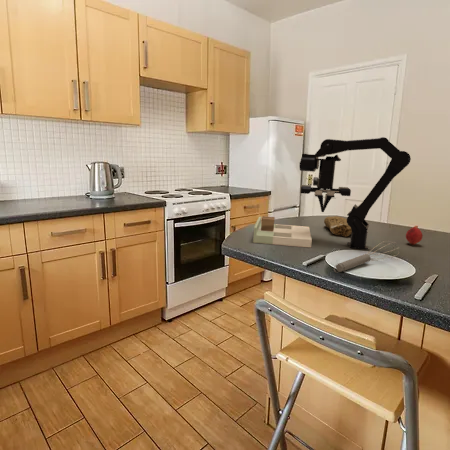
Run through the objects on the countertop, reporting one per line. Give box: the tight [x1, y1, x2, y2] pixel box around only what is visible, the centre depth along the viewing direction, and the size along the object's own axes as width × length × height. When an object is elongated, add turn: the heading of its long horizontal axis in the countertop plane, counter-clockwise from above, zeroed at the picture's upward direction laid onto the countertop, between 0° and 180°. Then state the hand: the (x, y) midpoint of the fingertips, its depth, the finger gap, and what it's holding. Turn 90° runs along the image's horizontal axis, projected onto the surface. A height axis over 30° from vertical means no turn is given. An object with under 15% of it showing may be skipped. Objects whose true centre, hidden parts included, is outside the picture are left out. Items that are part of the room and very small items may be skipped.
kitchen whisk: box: [333, 240, 400, 273], centre depth 110 cm, size 6×34×6 cm, turn 125°
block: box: [261, 215, 276, 231], centre depth 139 cm, size 5×5×5 cm
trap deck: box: [252, 216, 313, 248], centre depth 138 cm, size 22×22×6 cm
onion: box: [405, 225, 424, 246], centre depth 134 cm, size 6×6×8 cm
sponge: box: [323, 215, 352, 238], centre depth 152 cm, size 13×8×20 cm
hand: (322, 211), depth 133 cm, fingers closed
